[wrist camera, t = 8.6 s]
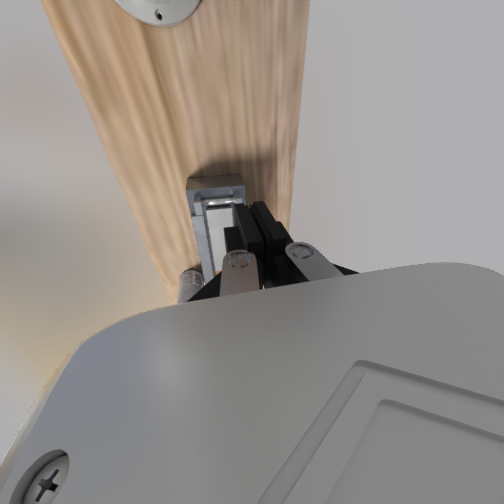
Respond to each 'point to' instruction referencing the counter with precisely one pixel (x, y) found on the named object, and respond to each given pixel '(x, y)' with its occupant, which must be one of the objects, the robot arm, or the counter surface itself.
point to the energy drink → (189, 285)
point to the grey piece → (208, 196)
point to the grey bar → (218, 232)
